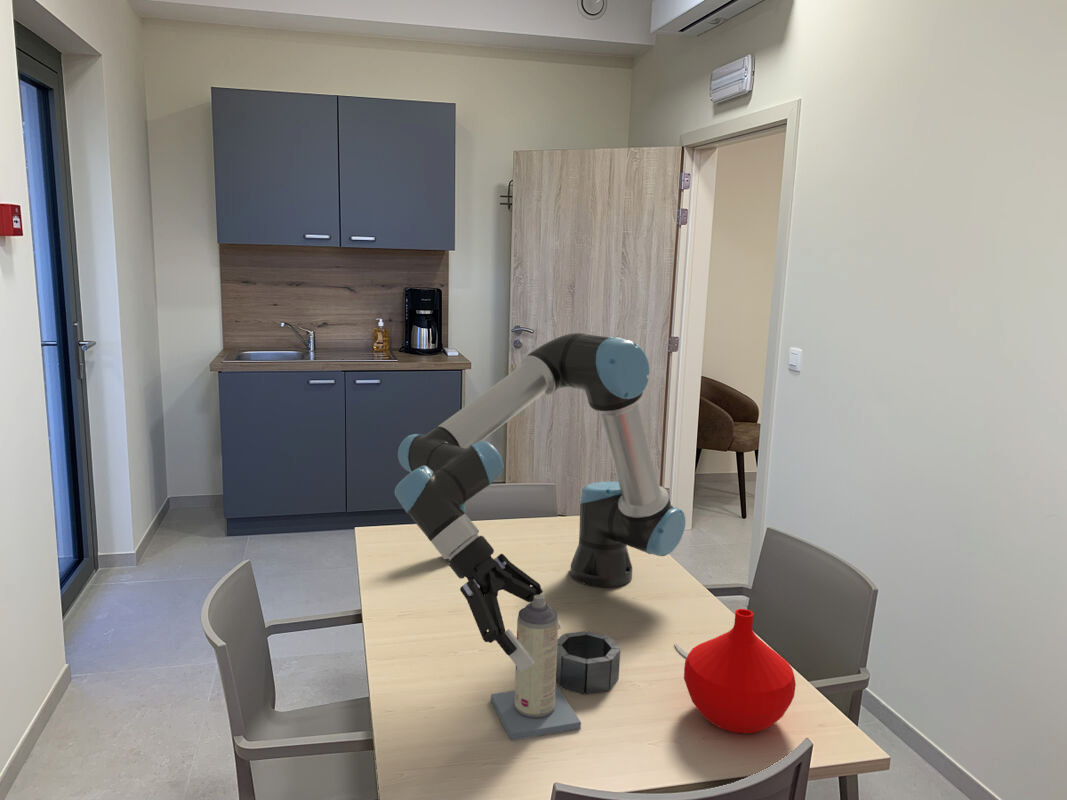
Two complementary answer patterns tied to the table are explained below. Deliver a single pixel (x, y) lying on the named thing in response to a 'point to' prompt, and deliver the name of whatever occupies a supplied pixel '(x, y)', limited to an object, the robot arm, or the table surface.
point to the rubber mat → (528, 727)
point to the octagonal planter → (587, 662)
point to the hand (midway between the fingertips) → (543, 648)
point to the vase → (739, 679)
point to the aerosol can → (537, 660)
